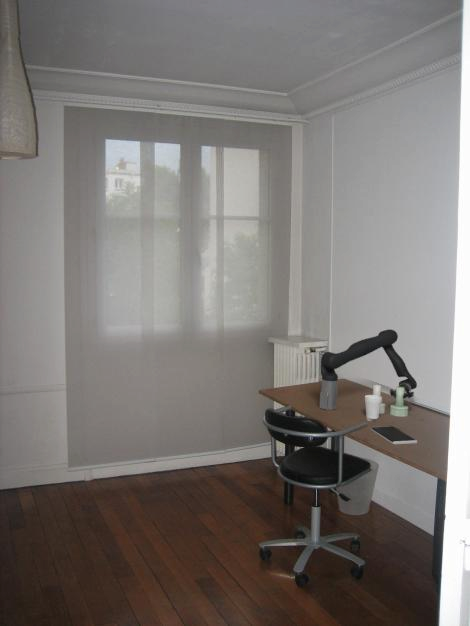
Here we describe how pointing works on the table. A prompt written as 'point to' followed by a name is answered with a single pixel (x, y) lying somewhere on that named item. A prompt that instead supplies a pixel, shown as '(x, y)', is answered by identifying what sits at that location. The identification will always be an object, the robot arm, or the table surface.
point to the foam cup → (372, 406)
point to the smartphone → (393, 435)
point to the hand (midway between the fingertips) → (399, 396)
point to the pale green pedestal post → (399, 404)
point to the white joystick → (378, 392)
